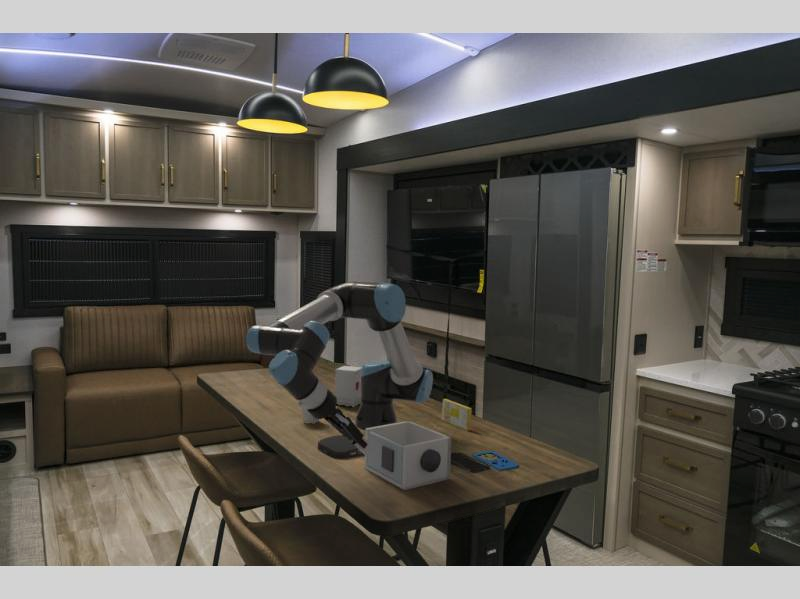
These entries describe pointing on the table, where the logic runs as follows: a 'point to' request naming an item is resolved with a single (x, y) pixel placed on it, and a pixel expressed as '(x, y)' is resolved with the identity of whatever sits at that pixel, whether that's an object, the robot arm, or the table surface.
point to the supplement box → (348, 385)
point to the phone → (467, 462)
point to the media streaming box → (338, 447)
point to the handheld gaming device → (497, 461)
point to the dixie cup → (308, 416)
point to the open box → (416, 453)
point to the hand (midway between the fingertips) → (369, 452)
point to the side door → (386, 456)
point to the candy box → (456, 414)
